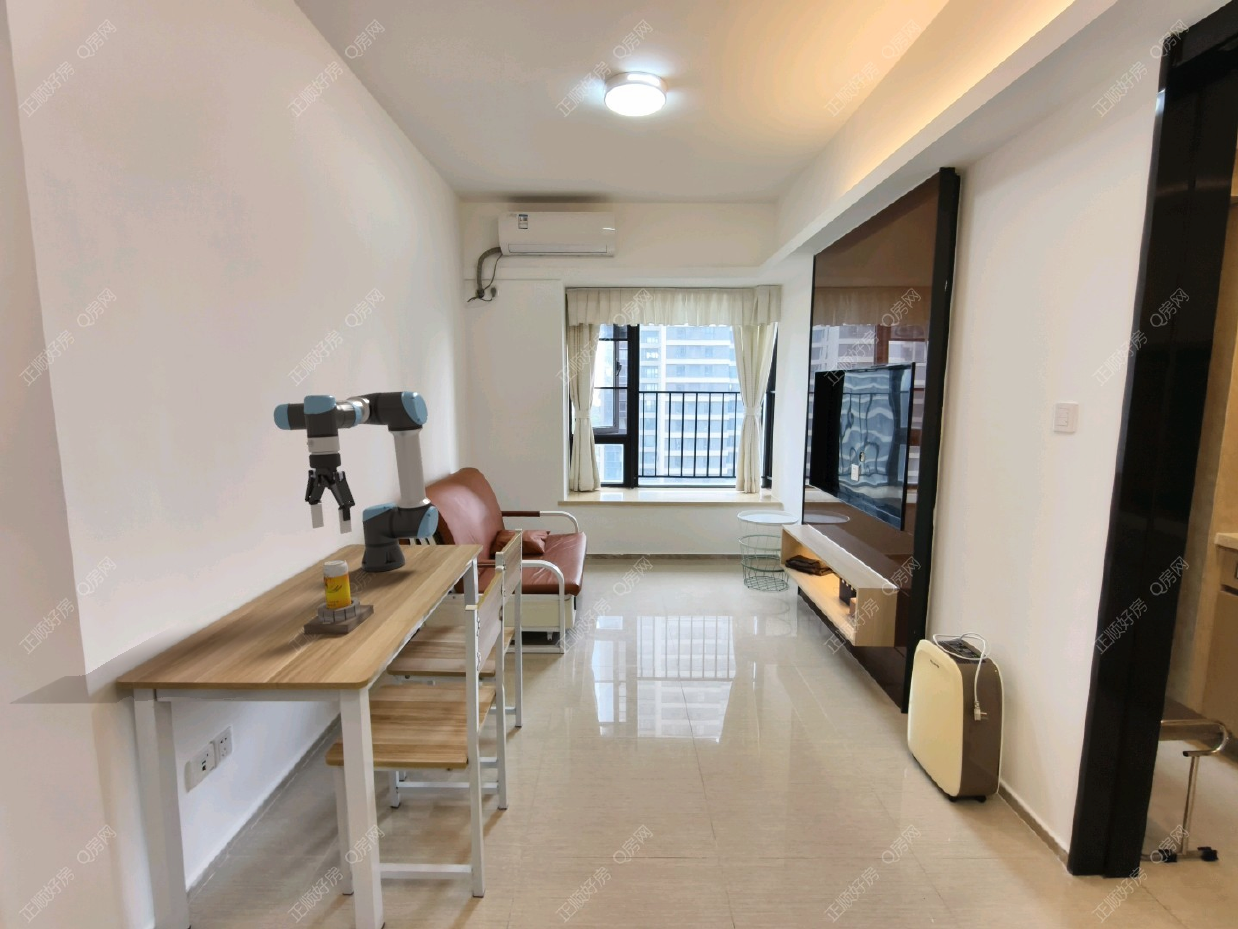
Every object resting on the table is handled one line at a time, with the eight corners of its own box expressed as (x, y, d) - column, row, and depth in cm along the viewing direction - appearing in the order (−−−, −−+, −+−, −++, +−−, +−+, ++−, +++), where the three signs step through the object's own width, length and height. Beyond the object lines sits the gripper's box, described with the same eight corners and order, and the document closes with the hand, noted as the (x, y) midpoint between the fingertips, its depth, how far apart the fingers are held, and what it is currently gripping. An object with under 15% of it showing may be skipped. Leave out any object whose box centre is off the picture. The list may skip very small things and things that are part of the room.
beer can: (323, 616, 152) (317, 563, 151) (343, 608, 158) (338, 557, 156) (335, 620, 149) (330, 566, 147) (356, 612, 154) (351, 560, 153)
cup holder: (333, 613, 161) (332, 595, 160) (373, 613, 160) (372, 594, 160) (304, 634, 147) (302, 614, 146) (348, 633, 146) (346, 613, 146)
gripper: (286, 452, 152) (293, 528, 154) (337, 455, 138) (344, 538, 141) (313, 450, 158) (320, 522, 160) (364, 452, 144) (371, 531, 147)
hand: (331, 530), depth 151 cm, fingers open, 13 cm apart
